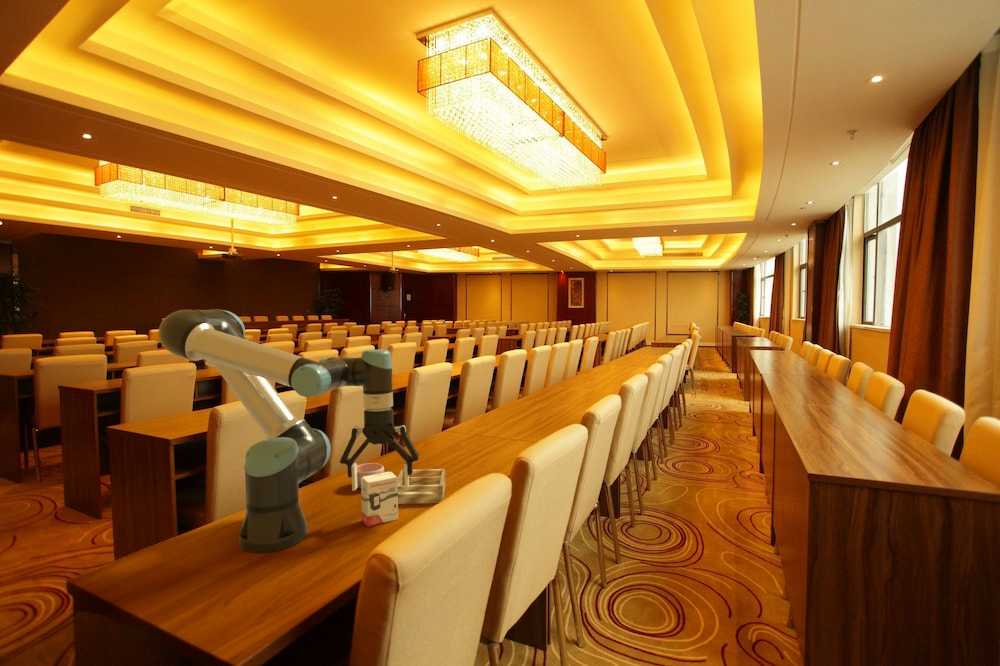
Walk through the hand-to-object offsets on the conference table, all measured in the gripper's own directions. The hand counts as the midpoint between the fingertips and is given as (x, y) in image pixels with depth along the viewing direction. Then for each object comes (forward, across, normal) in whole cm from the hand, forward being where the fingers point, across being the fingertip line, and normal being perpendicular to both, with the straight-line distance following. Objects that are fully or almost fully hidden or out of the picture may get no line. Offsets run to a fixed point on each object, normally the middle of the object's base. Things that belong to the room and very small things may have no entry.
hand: (380, 488), depth 131 cm
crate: (+9, +8, +18) cm, 22 cm away
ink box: (+9, 0, 0) cm, 9 cm away
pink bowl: (+9, -8, +27) cm, 30 cm away
